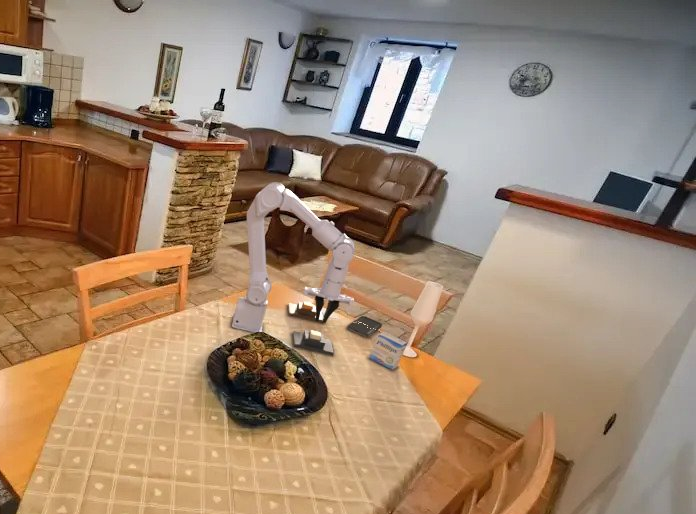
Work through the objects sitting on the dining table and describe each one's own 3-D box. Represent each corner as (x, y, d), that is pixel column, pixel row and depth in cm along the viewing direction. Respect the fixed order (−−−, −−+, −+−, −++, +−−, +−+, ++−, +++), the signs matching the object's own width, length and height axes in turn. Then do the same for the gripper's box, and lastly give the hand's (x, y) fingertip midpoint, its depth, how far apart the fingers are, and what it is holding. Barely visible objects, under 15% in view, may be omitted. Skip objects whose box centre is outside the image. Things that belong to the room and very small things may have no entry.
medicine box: (368, 358, 154) (377, 334, 150) (374, 354, 157) (384, 330, 153) (392, 370, 150) (402, 345, 146) (397, 366, 153) (408, 342, 149)
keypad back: (288, 315, 172) (290, 308, 171) (287, 305, 180) (290, 298, 179) (322, 323, 172) (325, 315, 170) (320, 313, 180) (323, 305, 178)
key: (309, 338, 153) (311, 334, 152) (309, 334, 156) (310, 329, 155) (320, 341, 153) (321, 336, 152) (319, 336, 156) (320, 332, 155)
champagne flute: (416, 359, 160) (447, 290, 149) (395, 352, 162) (424, 284, 151) (416, 351, 166) (446, 284, 155) (396, 344, 168) (424, 278, 157)
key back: (302, 308, 173) (304, 304, 173) (302, 305, 176) (303, 301, 176) (311, 310, 173) (313, 306, 173) (311, 307, 176) (312, 303, 175)
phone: (383, 324, 178) (368, 335, 167) (382, 326, 179) (367, 338, 167) (362, 315, 182) (346, 325, 171) (361, 318, 182) (345, 328, 171)
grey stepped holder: (293, 347, 152) (296, 338, 150) (292, 334, 160) (295, 325, 158) (332, 356, 151) (335, 347, 150) (329, 342, 159) (332, 334, 158)
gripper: (310, 278, 142) (297, 320, 148) (360, 289, 142) (345, 332, 148) (308, 270, 148) (296, 311, 155) (357, 281, 148) (342, 322, 154)
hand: (320, 320), depth 152 cm, fingers closed
